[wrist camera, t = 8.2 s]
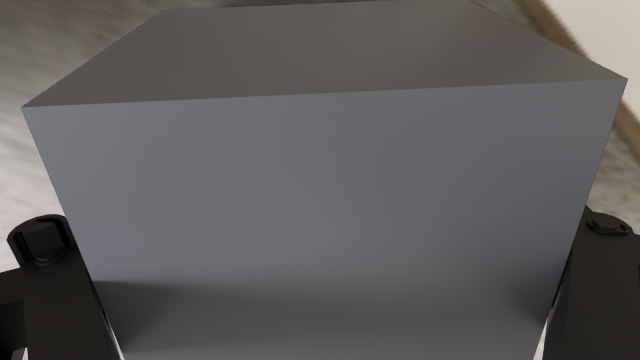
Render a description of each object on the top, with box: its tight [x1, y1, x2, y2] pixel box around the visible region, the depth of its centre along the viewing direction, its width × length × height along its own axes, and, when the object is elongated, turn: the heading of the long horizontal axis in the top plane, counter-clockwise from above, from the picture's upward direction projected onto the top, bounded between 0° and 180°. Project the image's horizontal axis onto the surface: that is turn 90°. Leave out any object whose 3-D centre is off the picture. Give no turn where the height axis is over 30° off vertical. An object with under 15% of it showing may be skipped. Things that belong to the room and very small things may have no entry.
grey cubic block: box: [21, 0, 628, 360], centre depth 14 cm, size 10×10×9 cm
